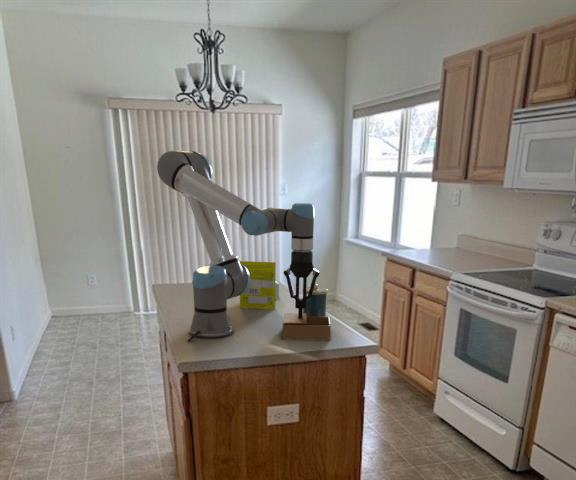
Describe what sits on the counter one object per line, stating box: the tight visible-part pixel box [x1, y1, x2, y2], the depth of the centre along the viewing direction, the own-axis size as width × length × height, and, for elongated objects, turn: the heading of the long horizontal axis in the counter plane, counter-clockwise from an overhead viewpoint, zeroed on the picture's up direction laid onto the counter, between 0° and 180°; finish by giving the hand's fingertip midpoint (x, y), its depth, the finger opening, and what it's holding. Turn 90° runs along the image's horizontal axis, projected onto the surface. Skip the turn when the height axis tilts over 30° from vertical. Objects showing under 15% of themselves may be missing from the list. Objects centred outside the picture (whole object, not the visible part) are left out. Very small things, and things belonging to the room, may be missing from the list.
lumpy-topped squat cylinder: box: [275, 280, 280, 301], centre depth 248 cm, size 10×13×9 cm
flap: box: [282, 312, 307, 325], centre depth 193 cm, size 8×13×1 cm, turn 178°
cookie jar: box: [303, 283, 329, 317], centre depth 205 cm, size 10×10×16 cm
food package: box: [239, 260, 277, 310], centre depth 227 cm, size 15×1×20 cm, turn 84°
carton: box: [282, 316, 331, 341], centre depth 194 cm, size 17×13×5 cm
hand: (300, 317), depth 193 cm, fingers closed
